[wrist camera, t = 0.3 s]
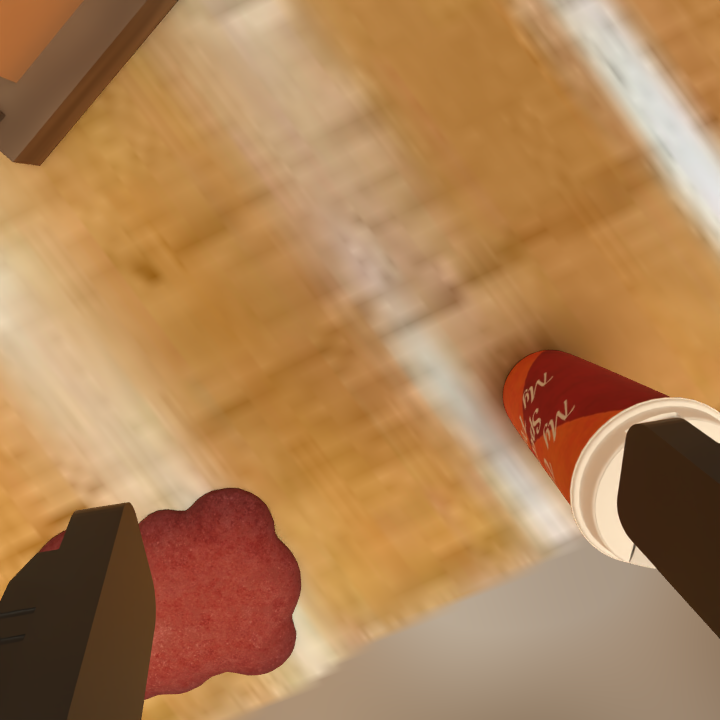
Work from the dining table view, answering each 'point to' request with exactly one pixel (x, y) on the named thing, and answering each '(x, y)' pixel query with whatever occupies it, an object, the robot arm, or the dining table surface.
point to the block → (29, 31)
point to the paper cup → (590, 435)
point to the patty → (217, 591)
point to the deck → (72, 74)
